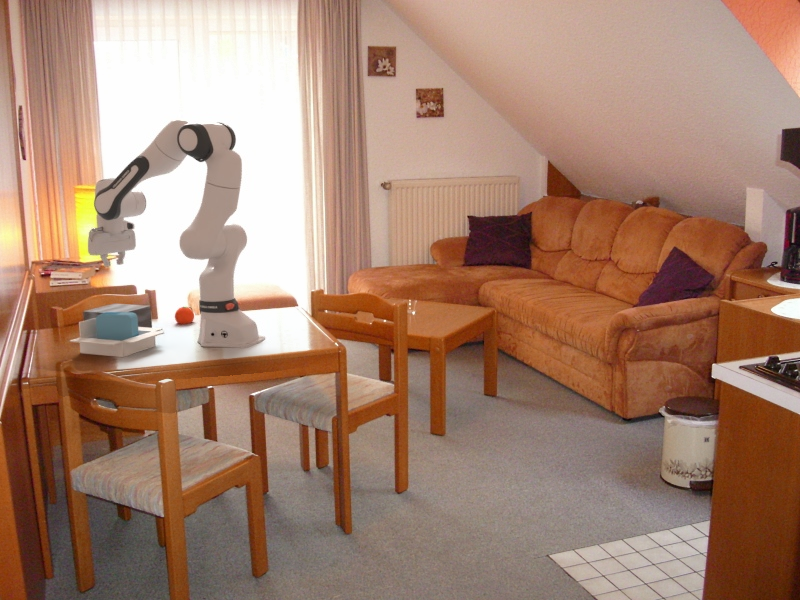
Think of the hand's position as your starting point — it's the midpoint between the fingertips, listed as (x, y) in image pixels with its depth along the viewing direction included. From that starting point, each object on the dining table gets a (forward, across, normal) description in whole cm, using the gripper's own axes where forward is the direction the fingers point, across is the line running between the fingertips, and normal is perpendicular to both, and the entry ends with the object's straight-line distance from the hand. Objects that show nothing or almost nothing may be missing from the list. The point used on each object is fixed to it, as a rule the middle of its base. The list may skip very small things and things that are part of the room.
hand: (113, 265), depth 276 cm
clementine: (+24, +20, -14) cm, 34 cm away
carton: (+24, -20, -17) cm, 36 cm away
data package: (+24, -20, -18) cm, 36 cm away
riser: (+24, 0, 0) cm, 24 cm away
